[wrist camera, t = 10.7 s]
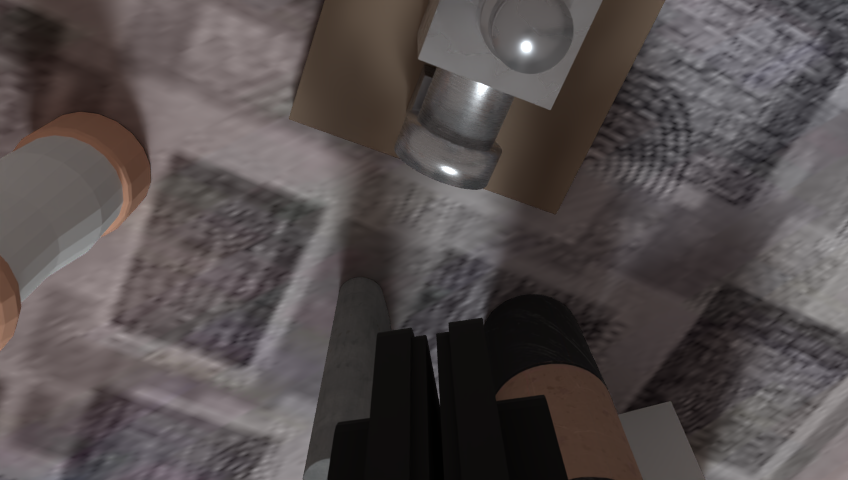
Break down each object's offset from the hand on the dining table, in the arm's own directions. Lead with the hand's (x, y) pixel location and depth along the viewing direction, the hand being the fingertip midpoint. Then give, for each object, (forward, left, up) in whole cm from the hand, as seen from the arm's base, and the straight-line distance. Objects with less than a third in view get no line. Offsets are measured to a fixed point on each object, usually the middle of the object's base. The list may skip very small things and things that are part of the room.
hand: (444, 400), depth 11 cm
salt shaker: (+17, +15, -33) cm, 40 cm away
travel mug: (-15, +17, -33) cm, 40 cm away
